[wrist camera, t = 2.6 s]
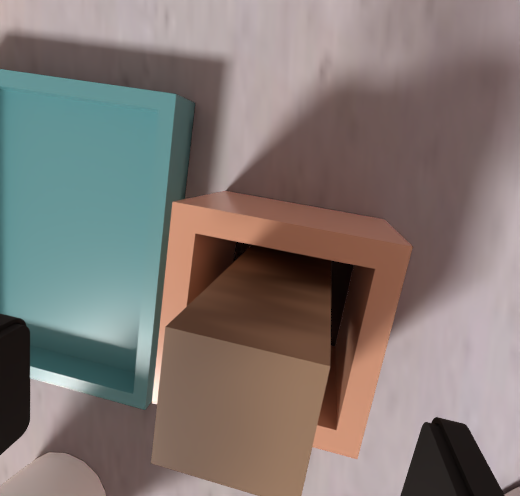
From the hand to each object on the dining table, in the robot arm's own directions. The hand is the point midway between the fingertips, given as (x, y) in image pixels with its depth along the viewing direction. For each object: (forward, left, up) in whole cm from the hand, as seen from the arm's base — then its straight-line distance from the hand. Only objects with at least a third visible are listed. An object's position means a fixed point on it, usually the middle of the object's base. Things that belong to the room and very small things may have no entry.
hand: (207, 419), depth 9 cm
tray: (+12, 0, -13) cm, 18 cm away
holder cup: (-1, 0, -13) cm, 13 cm away
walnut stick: (-1, 0, -13) cm, 13 cm away
